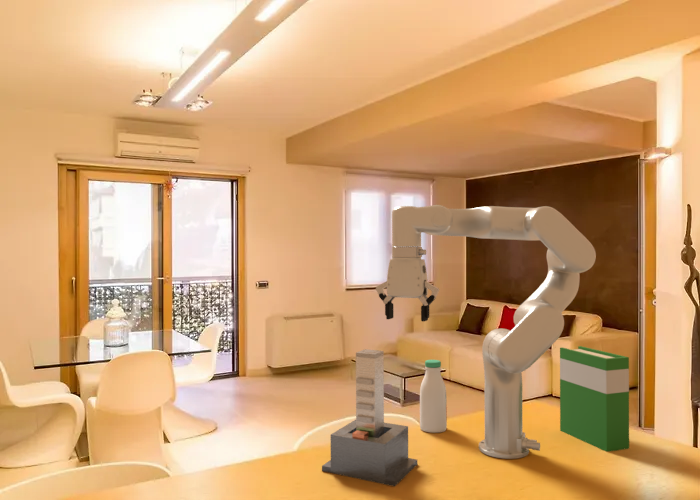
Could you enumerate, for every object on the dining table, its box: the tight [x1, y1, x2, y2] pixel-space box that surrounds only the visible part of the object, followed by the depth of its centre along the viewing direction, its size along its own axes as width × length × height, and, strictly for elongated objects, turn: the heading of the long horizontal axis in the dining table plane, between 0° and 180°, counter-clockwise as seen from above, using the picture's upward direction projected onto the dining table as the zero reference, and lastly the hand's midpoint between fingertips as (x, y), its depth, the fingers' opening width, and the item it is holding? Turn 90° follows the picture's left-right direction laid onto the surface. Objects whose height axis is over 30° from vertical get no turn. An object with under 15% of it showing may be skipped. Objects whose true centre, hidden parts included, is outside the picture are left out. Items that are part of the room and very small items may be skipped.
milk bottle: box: [419, 359, 448, 434], centre depth 162 cm, size 8×8×20 cm
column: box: [355, 348, 385, 438], centre depth 133 cm, size 5×6×22 cm
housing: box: [321, 419, 418, 487], centre depth 133 cm, size 19×14×10 cm
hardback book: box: [559, 345, 630, 453], centre depth 153 cm, size 18×7×24 cm, turn 19°
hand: (406, 319), depth 144 cm, fingers open, 9 cm apart
